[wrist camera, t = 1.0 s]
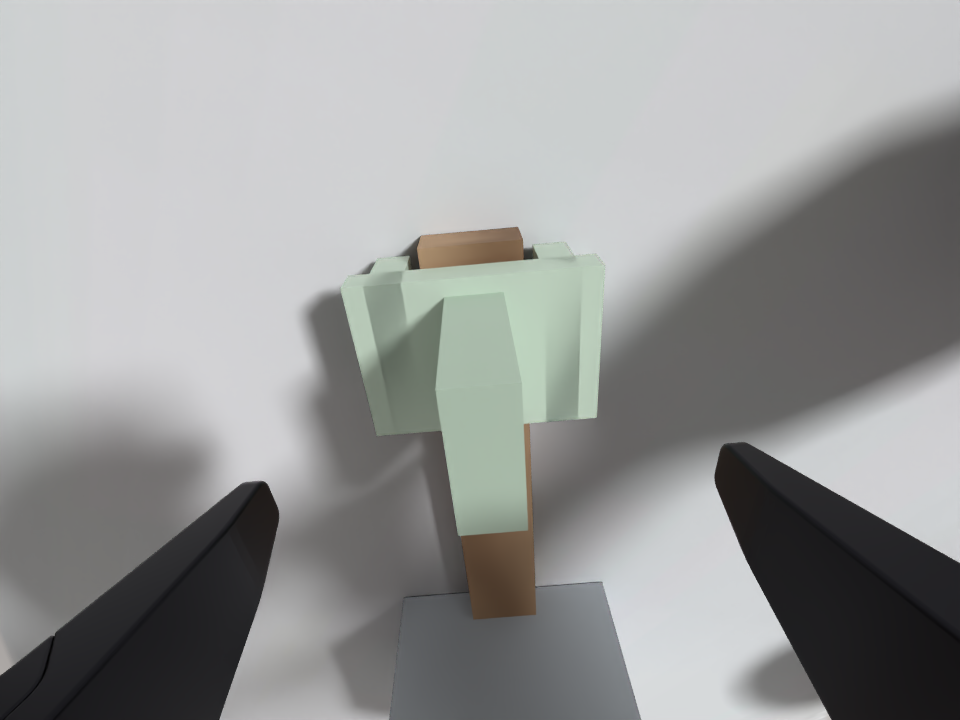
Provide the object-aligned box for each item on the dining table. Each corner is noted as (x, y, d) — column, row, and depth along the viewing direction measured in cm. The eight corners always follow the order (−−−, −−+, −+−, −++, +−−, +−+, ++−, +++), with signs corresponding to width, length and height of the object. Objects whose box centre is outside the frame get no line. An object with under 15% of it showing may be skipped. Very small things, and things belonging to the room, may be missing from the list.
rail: (517, 226, 14) (522, 239, 13) (532, 587, 23) (536, 614, 22) (421, 236, 14) (416, 248, 13) (472, 592, 23) (473, 619, 22)
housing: (602, 582, 23) (642, 723, 18) (595, 657, 27) (627, 794, 21) (397, 598, 23) (378, 742, 18) (418, 671, 27) (407, 809, 22)
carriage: (584, 239, 14) (672, 346, 8) (580, 377, 17) (645, 535, 11) (358, 260, 14) (282, 380, 8) (387, 393, 17) (345, 559, 11)
